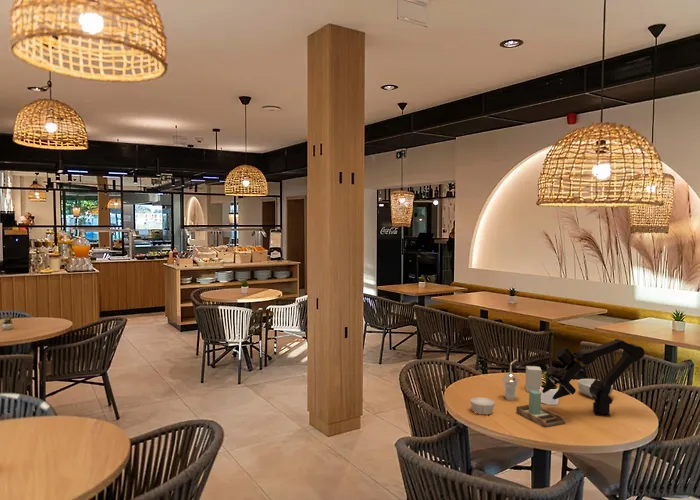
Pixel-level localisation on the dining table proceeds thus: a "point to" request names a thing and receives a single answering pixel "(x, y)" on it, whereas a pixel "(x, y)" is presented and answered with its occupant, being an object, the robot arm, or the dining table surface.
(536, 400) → the block
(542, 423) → the tray
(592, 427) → the dining table surface
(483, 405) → the ramekin
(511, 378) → the cup with straw
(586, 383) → the cereal bowl
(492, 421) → the dining table surface
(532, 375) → the supplement box
